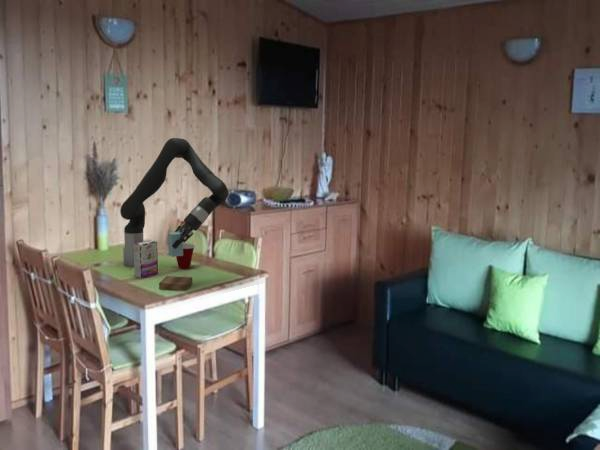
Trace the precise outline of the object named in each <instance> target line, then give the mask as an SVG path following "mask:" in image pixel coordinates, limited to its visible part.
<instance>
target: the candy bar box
mask: <svg viewBox="0 0 600 450" xmlns="http://www.w3.org/2000/svg"><path fill="white" fill-rule="evenodd" d="M158 253H159V251H158V240H155V239H154V240H153V239H149V240H143V242H139V243H135V244H134V267H133V268H134V277H135V278H138V279H144V278H149V277H152V276H154V275H158V274H159V262H158V261H159V259H158V256H159V255H158Z"/></svg>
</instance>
